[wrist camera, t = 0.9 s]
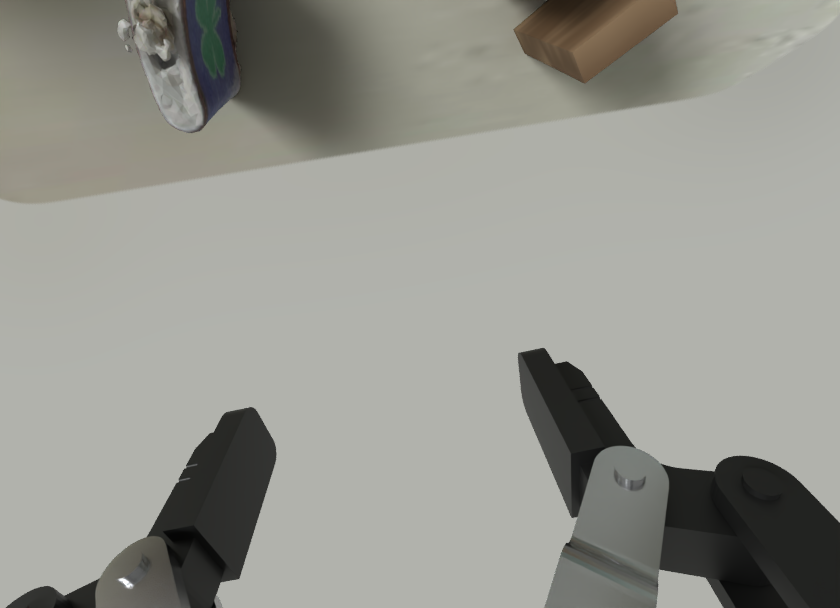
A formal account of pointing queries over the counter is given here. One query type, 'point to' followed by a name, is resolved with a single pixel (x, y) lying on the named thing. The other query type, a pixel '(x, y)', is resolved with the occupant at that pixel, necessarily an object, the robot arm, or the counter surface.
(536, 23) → the brown wooden block
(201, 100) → the flask
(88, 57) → the counter surface
